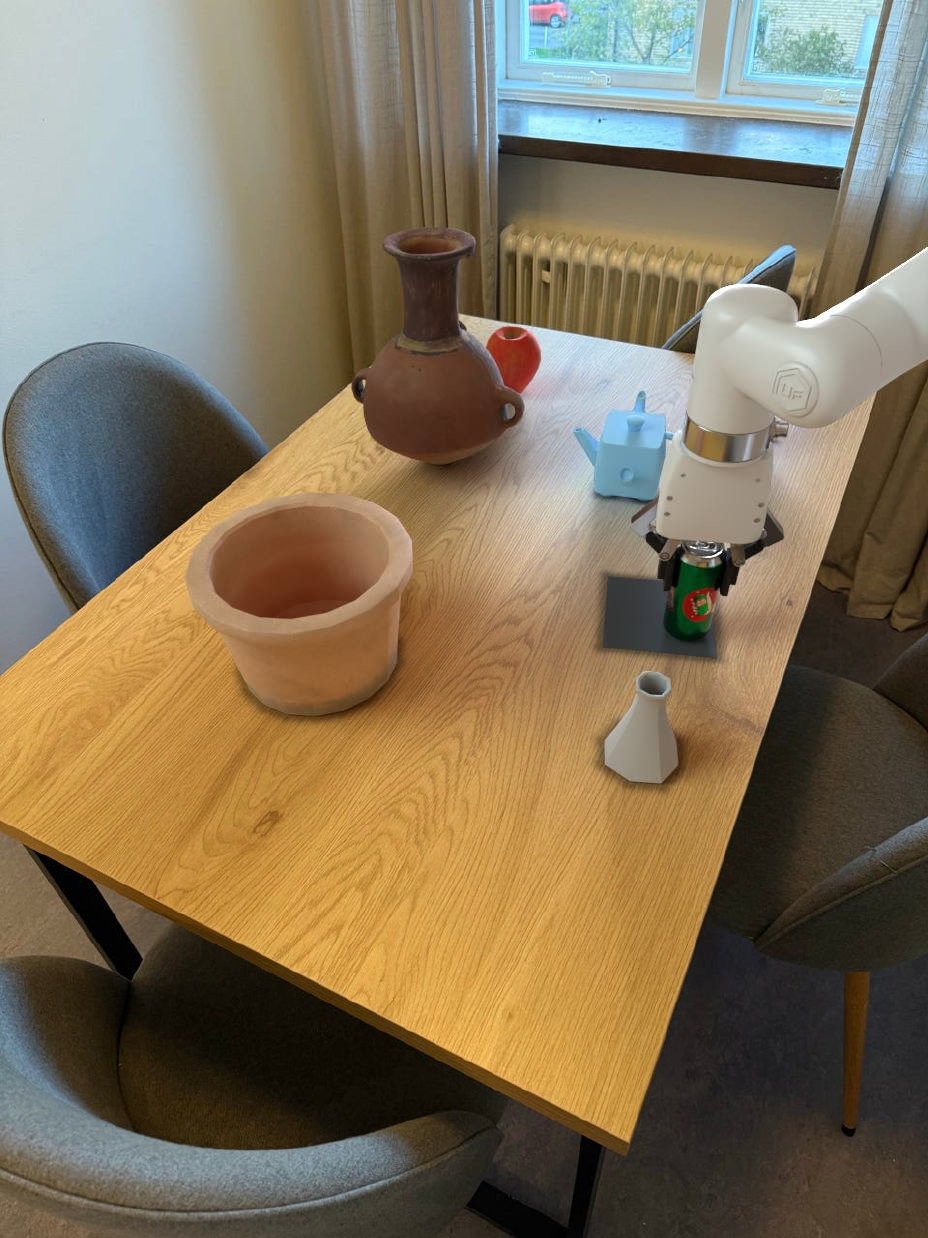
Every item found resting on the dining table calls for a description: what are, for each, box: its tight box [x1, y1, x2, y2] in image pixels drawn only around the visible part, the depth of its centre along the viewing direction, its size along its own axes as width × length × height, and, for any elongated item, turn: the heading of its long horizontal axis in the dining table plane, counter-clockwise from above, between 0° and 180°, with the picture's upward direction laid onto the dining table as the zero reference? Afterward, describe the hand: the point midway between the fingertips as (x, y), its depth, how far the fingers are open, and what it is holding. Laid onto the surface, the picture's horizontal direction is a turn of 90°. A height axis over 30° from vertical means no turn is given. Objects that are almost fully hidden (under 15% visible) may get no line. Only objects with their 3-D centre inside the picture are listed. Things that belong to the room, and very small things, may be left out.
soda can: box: [663, 540, 727, 642], centre depth 88 cm, size 5×5×12 cm
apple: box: [485, 325, 542, 395], centre depth 129 cm, size 9×8×11 cm
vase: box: [350, 226, 525, 466], centre depth 109 cm, size 25×20×30 cm
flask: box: [604, 670, 679, 784], centre depth 76 cm, size 7×7×10 cm
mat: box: [602, 575, 717, 659], centre depth 94 cm, size 12×12×1 cm
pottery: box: [184, 492, 414, 717], centre depth 86 cm, size 22×22×14 cm
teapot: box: [572, 390, 675, 502], centre depth 110 cm, size 18×14×10 cm
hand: (694, 583), depth 87 cm, fingers closed on soda can, 5 cm apart
